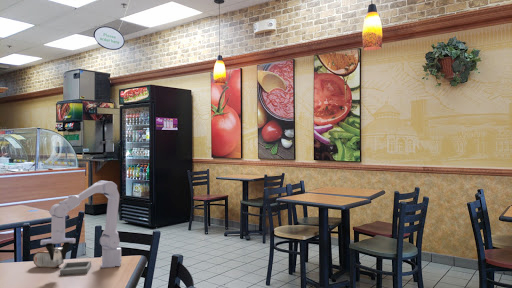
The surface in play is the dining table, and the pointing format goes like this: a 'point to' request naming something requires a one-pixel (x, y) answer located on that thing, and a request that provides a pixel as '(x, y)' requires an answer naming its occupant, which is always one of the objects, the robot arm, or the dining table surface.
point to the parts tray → (75, 268)
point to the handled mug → (58, 256)
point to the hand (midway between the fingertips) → (58, 259)
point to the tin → (43, 259)
